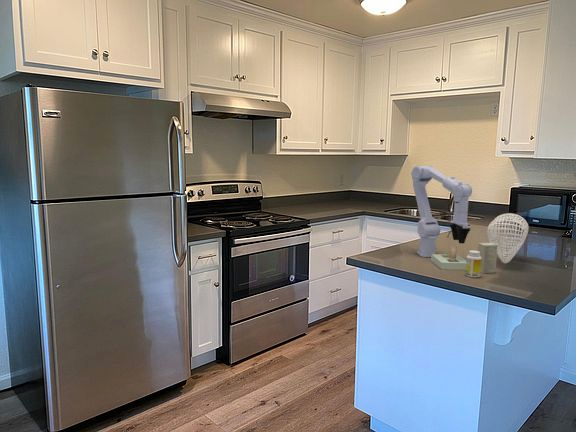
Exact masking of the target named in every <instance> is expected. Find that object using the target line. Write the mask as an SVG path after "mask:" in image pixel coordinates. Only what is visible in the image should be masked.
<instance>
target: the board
mask: <svg viewBox="0 0 576 432" xmlns="http://www.w3.org/2000/svg"><path fill="white" fill-rule="evenodd" d="M430 258H431V259H430V261H431V262H432V263H433V264H435V266H436V267H438V268H439V269H441V270H447V271H449V270H450V271H452V270H453V271H455V270H456V271H466V261H467V259H464V258H463V257H462V256H460V255H458V254H456V262H449V253H448V254H445V253H444V254H442V253H441V254H440V253H439V254H437V253H435V254H431V257H430Z"/></svg>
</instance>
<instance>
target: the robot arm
mask: <svg viewBox="0 0 576 432" xmlns="http://www.w3.org/2000/svg"><path fill="white" fill-rule="evenodd" d="M410 174H411V178H412V187H413V191H414V196H415V200H416V203H417V209H418V212H419V218H420V220H419V221H418V222H417V223H416V224H417V234H418V236H419V242H418V251H416V253H417V254H418V255H419V256H420V257H421V258H431V254H436V250H437V238H439V237H438V236H439V235H440V234H441V227H440V225H439V224H438V220H437V219H436V218H434V217H433V215H432V209H431V206H430V202H429V199H428V194H427V189H426V186H427V184H428V183H429V182H431V180H432V179H433V180H436V181H437V182H439V183H440V184H442V187H443V188H444V189H445V190H447V191H448V192H451V195H452V196H453V201H454V203H453V204H454V206H453V218H452V220H450V224H449V227H450V229H451V234H452V239H453V241H458V243H459V244H465V243H466V240H467V237H468V234H469V233H470V231H471V227H469V223H468V210H469V201H470V200H469V198H470V197H471V196H472V194H473V188H472V186H470V184H468V183H464V184H463V182H462V181H460V180H457V179H455V178H456V177H455V176H446V175H444V174H443V173H441V171H439V170H438V169H437V168H436V167H434V166H432V165H421V166H419V165H415V166H414V167H413V169H412V170H411V172H410Z"/></svg>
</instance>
